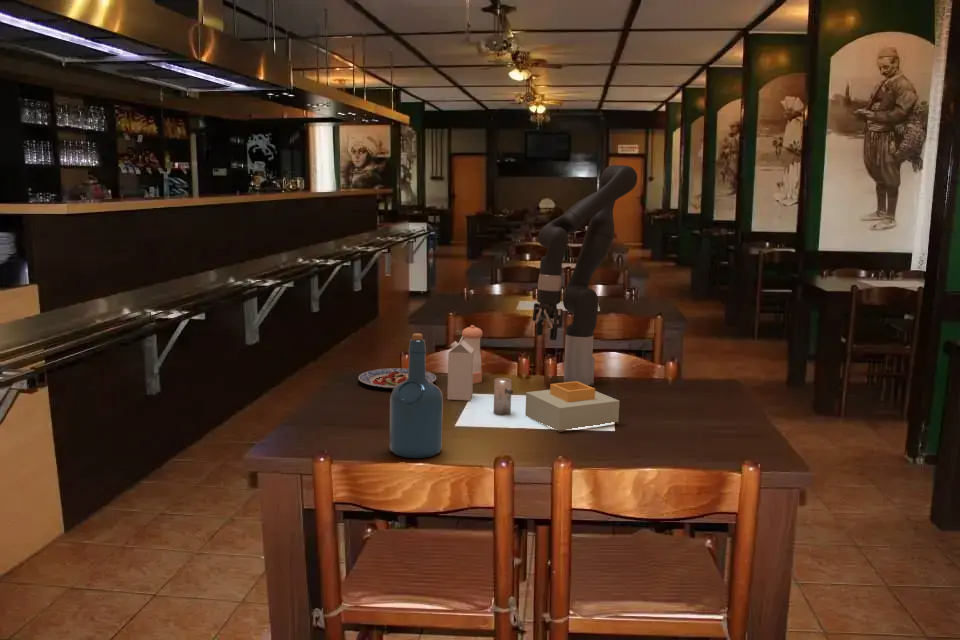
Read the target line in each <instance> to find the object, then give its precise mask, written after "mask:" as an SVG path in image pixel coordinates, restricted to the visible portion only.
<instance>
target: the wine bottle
mask: <svg viewBox="0 0 960 640" xmlns="http://www.w3.org/2000/svg"><path fill="white" fill-rule="evenodd" d="M411 336H412V337H411V339H410V340H409V345H408V352H407V353H408V368H407V369H408V378H407V380H406V381H404V382H402V383H399V384H398V385H397V386H396V387H395V388H394V389H392V392H391V394H390V396H389V449H390V451H391V452H392V453H393V454H394V455H395V456H399V457H403V458H407V459H424V458H430V457H434V456H436V455H438V454H440V452H441V450H442V446H443V409H444V406H443V405H444V404H443V403H444V402H443V401H444V400H443V399H444V396H443V395H444V394H443V392H442V390H441V389H440V387H439V386H438V385H436V384H434V382H432V383H431V382H429V381H428V380H427V379H426V353H427V348H426V340H425V338H423V337H424V336H423V334H422V333H417V332H415V333H412V335H411Z"/></svg>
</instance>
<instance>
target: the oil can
mask: <svg viewBox="0 0 960 640" xmlns="http://www.w3.org/2000/svg"><path fill="white" fill-rule="evenodd" d="M512 384H513V383H512V379H511V378H509V377H508V378H506V377H497V378H495V379H494V387H493V388H494V389H493V391H494V393H493V414H494V415H497V416H508V415H509V416H510V415H511V414H512V413H511V411H512V410H511V409H512V395H513V393H514V392H513V391H514V390H513V389H512ZM510 413H511V414H510Z"/></svg>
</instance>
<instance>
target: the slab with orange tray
mask: <svg viewBox="0 0 960 640" xmlns="http://www.w3.org/2000/svg"><path fill="white" fill-rule="evenodd" d="M524 412H525V415H526V416H525V415H524V416H525V417H527V416H528V418H529V417H530V419H531V418H532V419H531V420H533V419H534V421H535V420H536V421H535V422H537V421H538V422H537V423H539V422H540V423H539V424H541V423H543V424H545V425H548V426H550V427H552V428H554V429H557V430H566V429H572V428H578V427H585V426H593V425H600V424H605V423H611V422H618V423H619V419H620V418H619V416H620V415H619V413H620V400H618V399H616V398H613V397H611V396H609V395H606V394H604V393H601V392H599V391H597V390H596V388H595V387H592V386H588V385H585V384H583V383H580V382H578V381H575V382H565V383H564V382H557V383H556V382H555V383H550V387H549V389H546V390H545V389H543V390H535V391H528V392H527V391H526V392H525V411H524ZM543 424H542V425H543ZM545 425H544V426H545Z"/></svg>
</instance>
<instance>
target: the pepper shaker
mask: <svg viewBox="0 0 960 640" xmlns="http://www.w3.org/2000/svg"><path fill="white" fill-rule="evenodd" d="M483 333H484V332H483V330H482V329H481V328H479V327H476V326H475V325H473V324H471V325H470V326H468V327H466V328H464V329H462V331H461V334H462V335H461V337H462V336H463V340H464V341H465V342H466V343H467V344H468V345H470V346H471V347H472V348H473V349H474V355H473V384H480V383H482V382H483V381H482V380H483V371H482V355H481V338H483V335H484V334H483Z"/></svg>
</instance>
